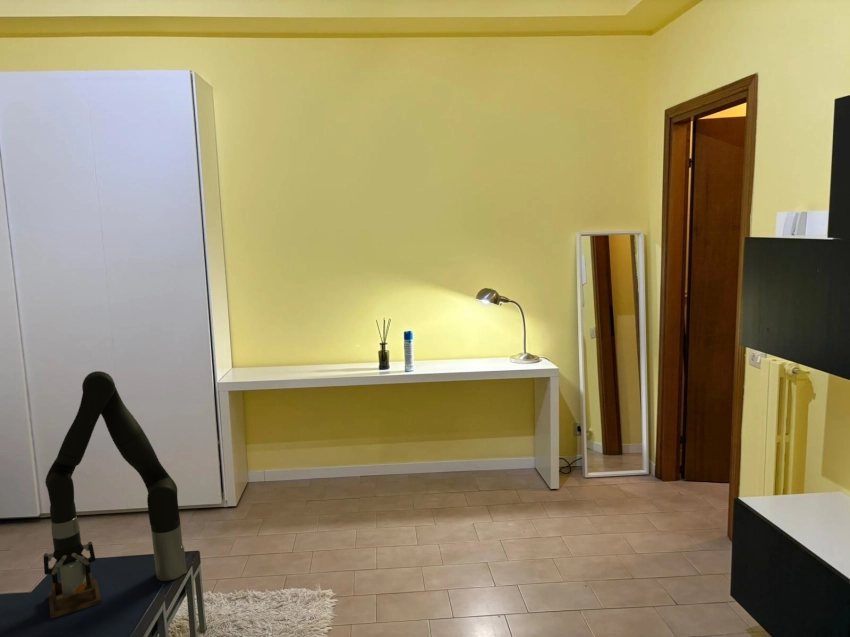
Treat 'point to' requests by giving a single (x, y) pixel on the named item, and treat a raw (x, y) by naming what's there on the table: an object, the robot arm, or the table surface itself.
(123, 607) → the table surface
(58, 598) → the walnut stand
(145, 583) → the table surface
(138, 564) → the table surface
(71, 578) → the skincare box
